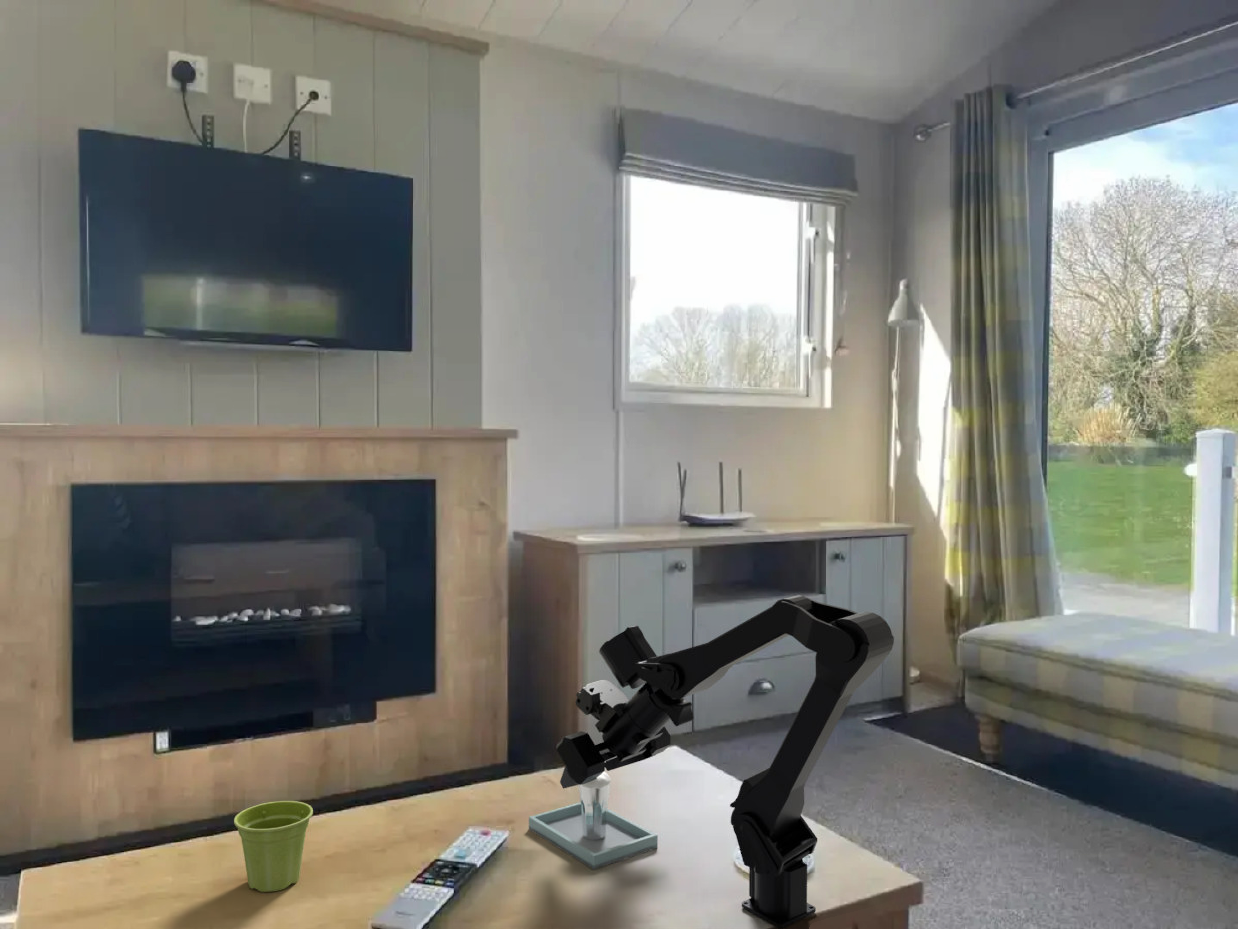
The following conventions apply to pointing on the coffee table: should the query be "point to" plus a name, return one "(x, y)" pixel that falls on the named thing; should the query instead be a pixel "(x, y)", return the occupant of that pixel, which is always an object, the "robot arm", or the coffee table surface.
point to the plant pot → (273, 842)
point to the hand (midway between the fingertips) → (584, 776)
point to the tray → (615, 846)
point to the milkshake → (595, 806)
